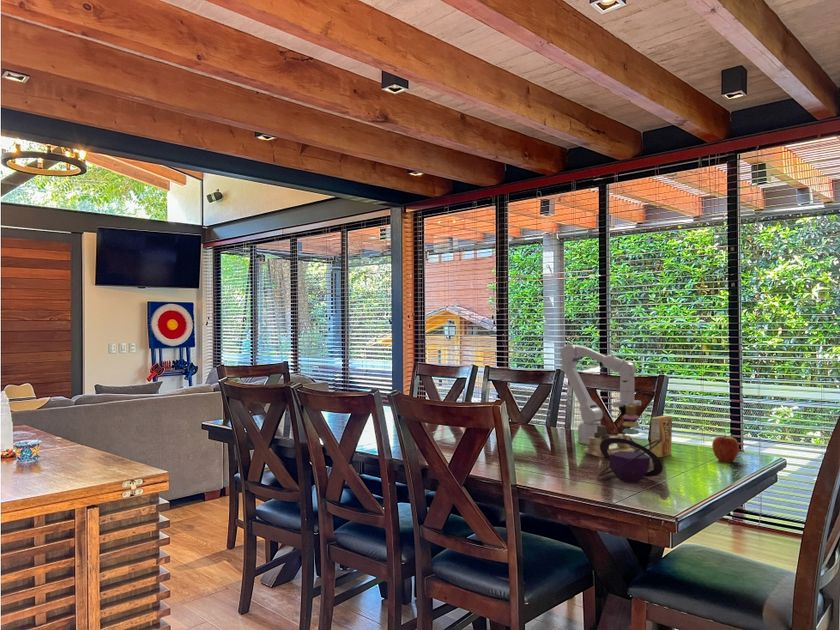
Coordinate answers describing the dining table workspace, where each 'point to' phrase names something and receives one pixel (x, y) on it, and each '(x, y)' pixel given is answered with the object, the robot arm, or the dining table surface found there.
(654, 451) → the candy box
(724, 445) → the apple
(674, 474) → the dining table surface
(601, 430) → the dark grey z bracket
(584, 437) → the robot arm
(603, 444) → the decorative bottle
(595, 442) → the pipe stand
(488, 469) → the dining table surface
